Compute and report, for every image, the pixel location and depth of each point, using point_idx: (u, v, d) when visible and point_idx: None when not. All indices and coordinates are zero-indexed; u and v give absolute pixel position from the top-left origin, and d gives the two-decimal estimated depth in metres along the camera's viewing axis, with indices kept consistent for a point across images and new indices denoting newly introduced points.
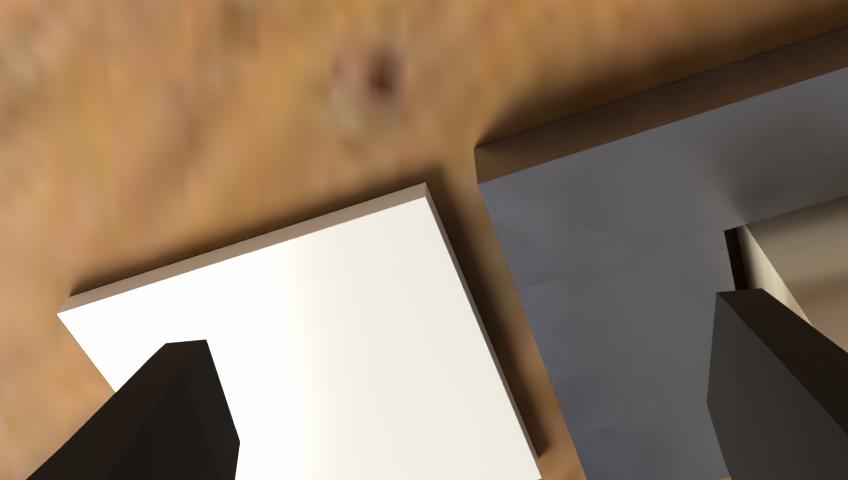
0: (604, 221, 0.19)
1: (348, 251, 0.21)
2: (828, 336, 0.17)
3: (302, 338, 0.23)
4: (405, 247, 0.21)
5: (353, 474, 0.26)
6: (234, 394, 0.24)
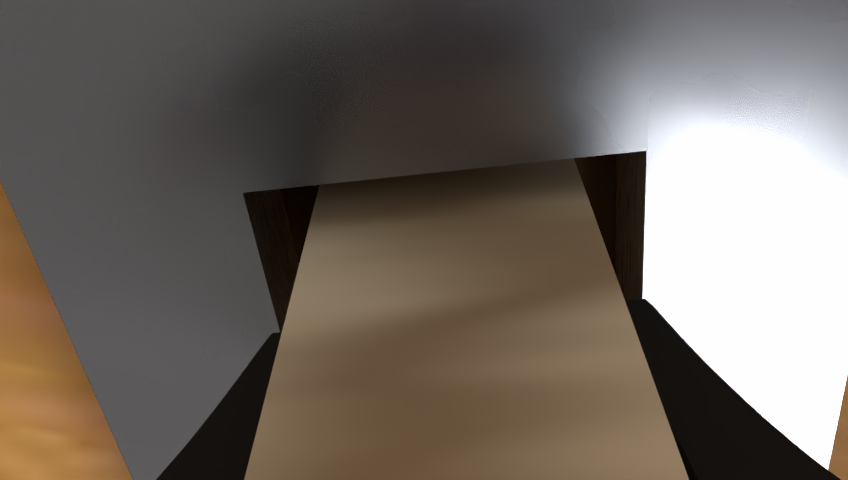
0: None
1: None
2: None
3: None
4: None
5: None
6: None
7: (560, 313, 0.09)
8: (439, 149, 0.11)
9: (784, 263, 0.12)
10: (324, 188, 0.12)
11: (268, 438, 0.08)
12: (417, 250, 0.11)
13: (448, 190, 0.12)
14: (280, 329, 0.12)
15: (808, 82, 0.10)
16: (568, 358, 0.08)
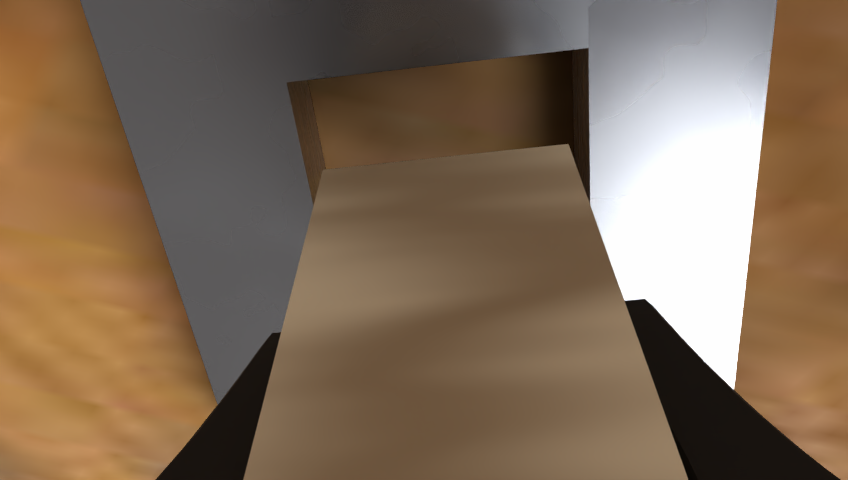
0: None
1: None
2: None
3: None
4: None
5: None
6: None
7: (559, 313, 0.09)
8: (434, 47, 0.14)
9: (696, 139, 0.15)
10: (324, 187, 0.12)
11: (268, 437, 0.08)
12: (417, 249, 0.11)
13: (447, 189, 0.12)
14: (312, 196, 0.16)
15: None
16: (567, 357, 0.08)
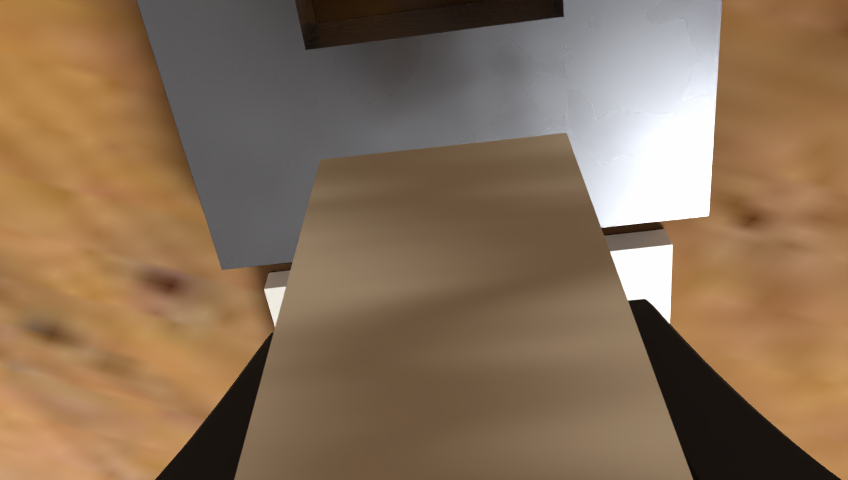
0: (276, 168, 0.18)
1: None
2: None
3: None
4: None
5: None
6: None
7: (557, 298, 0.09)
8: None
9: None
10: (321, 177, 0.12)
11: (263, 422, 0.08)
12: (414, 237, 0.11)
13: (445, 178, 0.12)
14: None
15: None
16: (565, 342, 0.08)
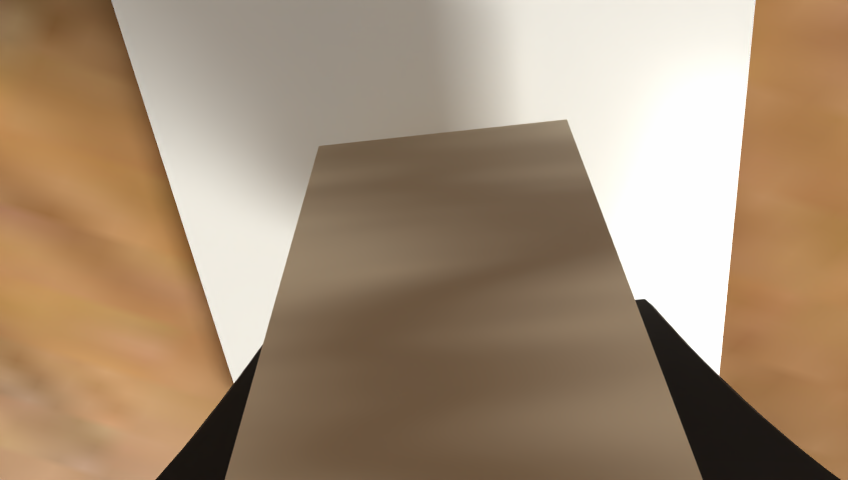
0: None
1: (184, 82, 0.14)
2: None
3: None
4: None
5: (622, 191, 0.16)
6: None
7: (557, 281, 0.09)
8: None
9: None
10: (319, 163, 0.12)
11: (260, 402, 0.08)
12: (413, 221, 0.10)
13: (444, 164, 0.12)
14: None
15: None
16: (565, 323, 0.08)
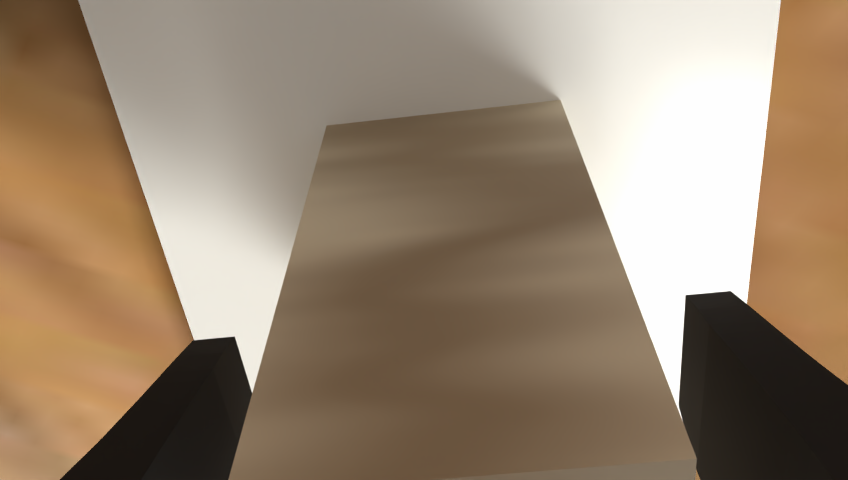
0: None
1: (165, 106, 0.14)
2: None
3: None
4: (161, 18, 0.13)
5: (634, 221, 0.15)
6: None
7: (549, 241, 0.10)
8: None
9: None
10: (327, 140, 0.13)
11: (277, 346, 0.09)
12: (416, 191, 0.11)
13: (445, 140, 0.13)
14: None
15: None
16: (555, 277, 0.09)
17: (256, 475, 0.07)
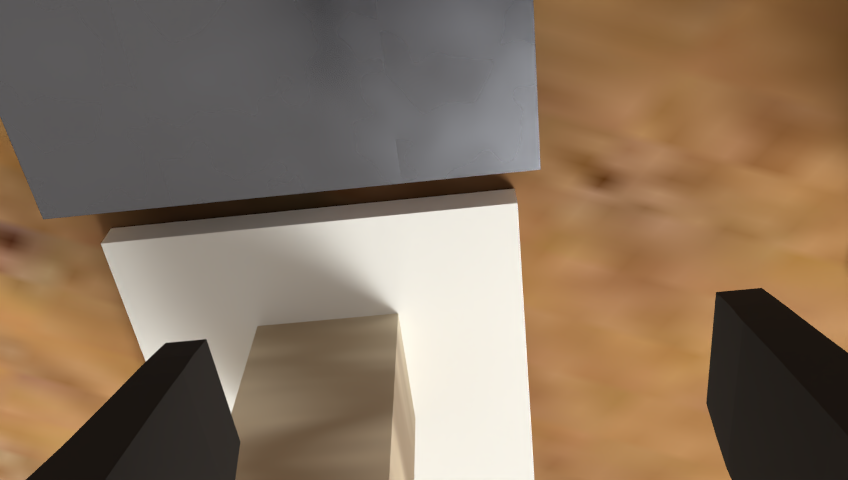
0: (87, 111, 0.18)
1: (159, 316, 0.22)
2: None
3: None
4: (157, 271, 0.21)
5: (452, 378, 0.23)
6: None
7: (360, 430, 0.18)
8: None
9: None
10: (256, 340, 0.22)
11: None
12: (299, 387, 0.20)
13: (324, 345, 0.21)
14: None
15: None
16: (355, 455, 0.18)
17: None
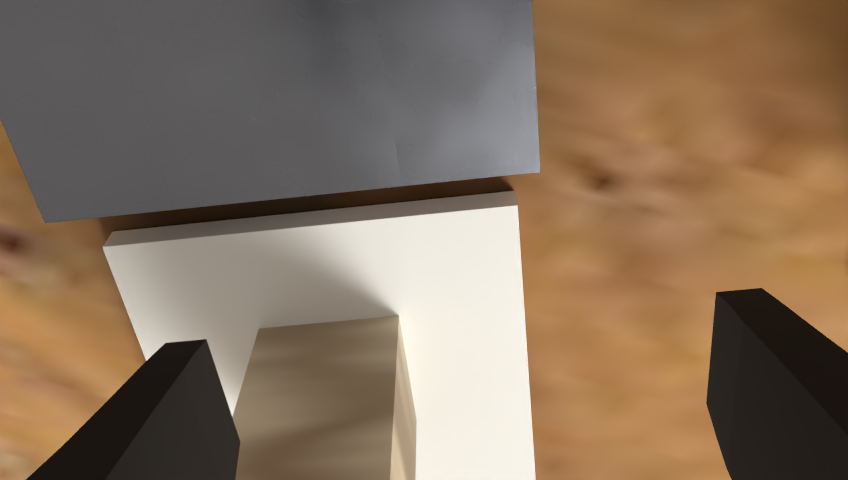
0: (88, 115, 0.18)
1: (160, 318, 0.22)
2: None
3: None
4: (158, 274, 0.22)
5: (453, 379, 0.23)
6: None
7: (361, 433, 0.19)
8: None
9: None
10: (257, 343, 0.22)
11: None
12: (300, 390, 0.20)
13: (325, 348, 0.21)
14: None
15: None
16: (357, 458, 0.18)
17: None
